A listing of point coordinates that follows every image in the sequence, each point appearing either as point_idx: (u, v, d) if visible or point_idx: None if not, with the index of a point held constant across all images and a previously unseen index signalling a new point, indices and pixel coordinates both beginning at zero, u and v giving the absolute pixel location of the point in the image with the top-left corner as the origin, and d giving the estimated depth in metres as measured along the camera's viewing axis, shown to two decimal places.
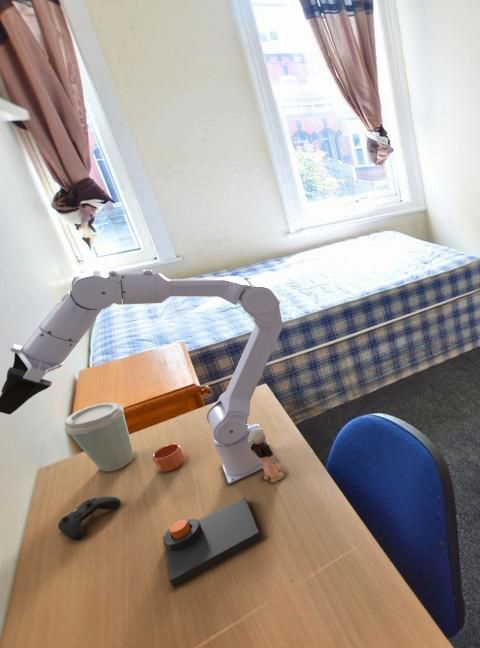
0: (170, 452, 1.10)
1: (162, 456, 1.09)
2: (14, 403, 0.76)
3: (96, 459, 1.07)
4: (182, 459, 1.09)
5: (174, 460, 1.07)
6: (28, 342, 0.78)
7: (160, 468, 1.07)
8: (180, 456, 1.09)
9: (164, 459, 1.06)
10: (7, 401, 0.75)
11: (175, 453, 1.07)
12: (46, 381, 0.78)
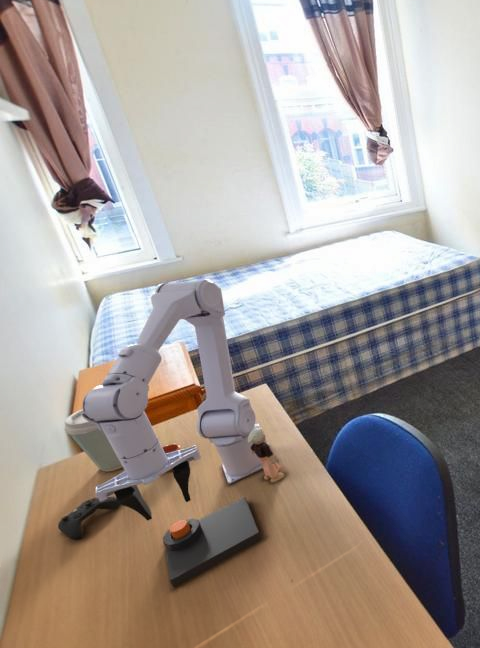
0: (170, 452, 1.10)
1: None
2: None
3: (96, 459, 1.07)
4: None
5: None
6: (152, 465, 0.78)
7: None
8: None
9: None
10: None
11: None
12: None
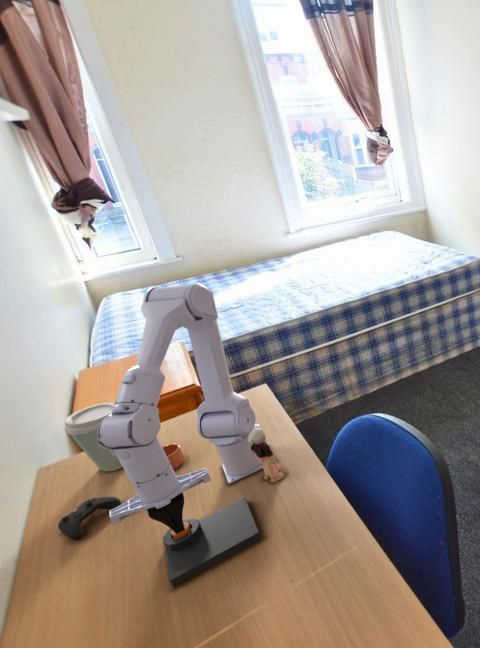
0: (170, 452, 1.10)
1: None
2: None
3: (96, 459, 1.07)
4: (182, 459, 1.09)
5: (174, 460, 1.07)
6: (164, 489, 0.80)
7: None
8: (180, 456, 1.09)
9: None
10: None
11: (175, 453, 1.07)
12: None
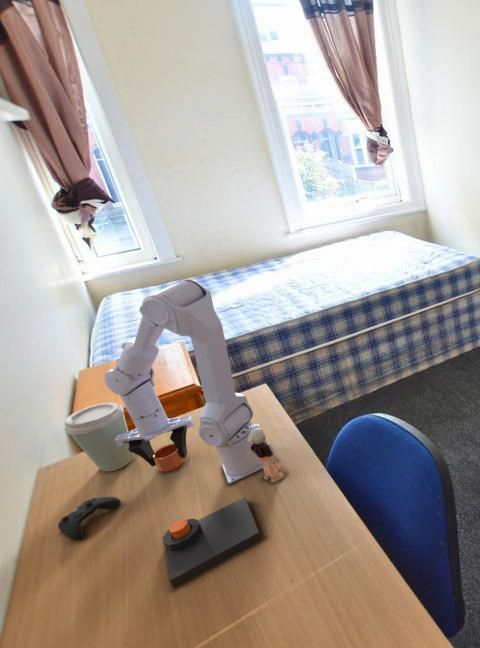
0: (170, 452, 1.10)
1: (162, 456, 1.09)
2: (184, 446, 1.10)
3: (96, 459, 1.07)
4: (182, 459, 1.09)
5: (175, 460, 1.07)
6: (152, 427, 1.03)
7: (160, 468, 1.07)
8: (180, 456, 1.09)
9: (164, 459, 1.06)
10: (183, 448, 1.09)
11: (175, 453, 1.07)
12: None
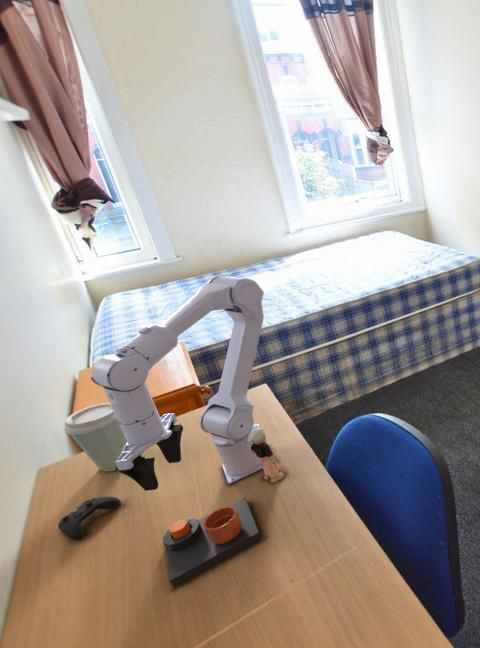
0: None
1: None
2: None
3: (96, 459, 1.07)
4: None
5: None
6: (161, 423, 0.88)
7: (240, 523, 0.87)
8: None
9: None
10: None
11: None
12: None
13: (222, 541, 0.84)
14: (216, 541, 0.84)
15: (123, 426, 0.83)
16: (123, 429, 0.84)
